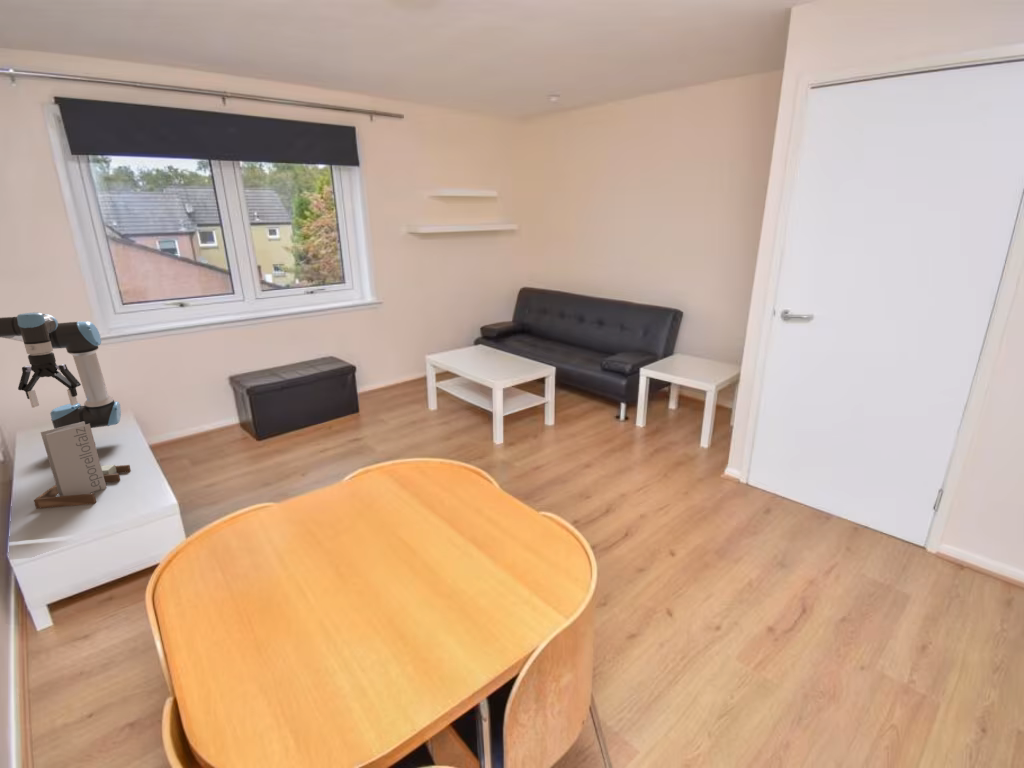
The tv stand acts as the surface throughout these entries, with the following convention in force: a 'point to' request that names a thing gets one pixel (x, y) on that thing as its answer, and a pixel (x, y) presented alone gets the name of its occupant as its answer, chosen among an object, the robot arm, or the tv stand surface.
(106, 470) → the offcut upper
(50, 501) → the rack
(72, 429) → the brochure
